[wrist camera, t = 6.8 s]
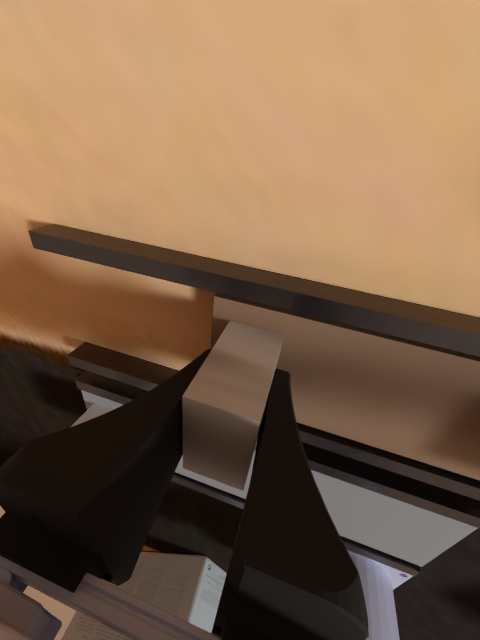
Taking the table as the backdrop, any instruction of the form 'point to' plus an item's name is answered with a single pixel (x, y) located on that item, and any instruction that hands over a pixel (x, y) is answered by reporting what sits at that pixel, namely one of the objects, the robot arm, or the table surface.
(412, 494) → the lane rails
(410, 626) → the table surface
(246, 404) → the strip
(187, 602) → the skincare box
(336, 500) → the strip
